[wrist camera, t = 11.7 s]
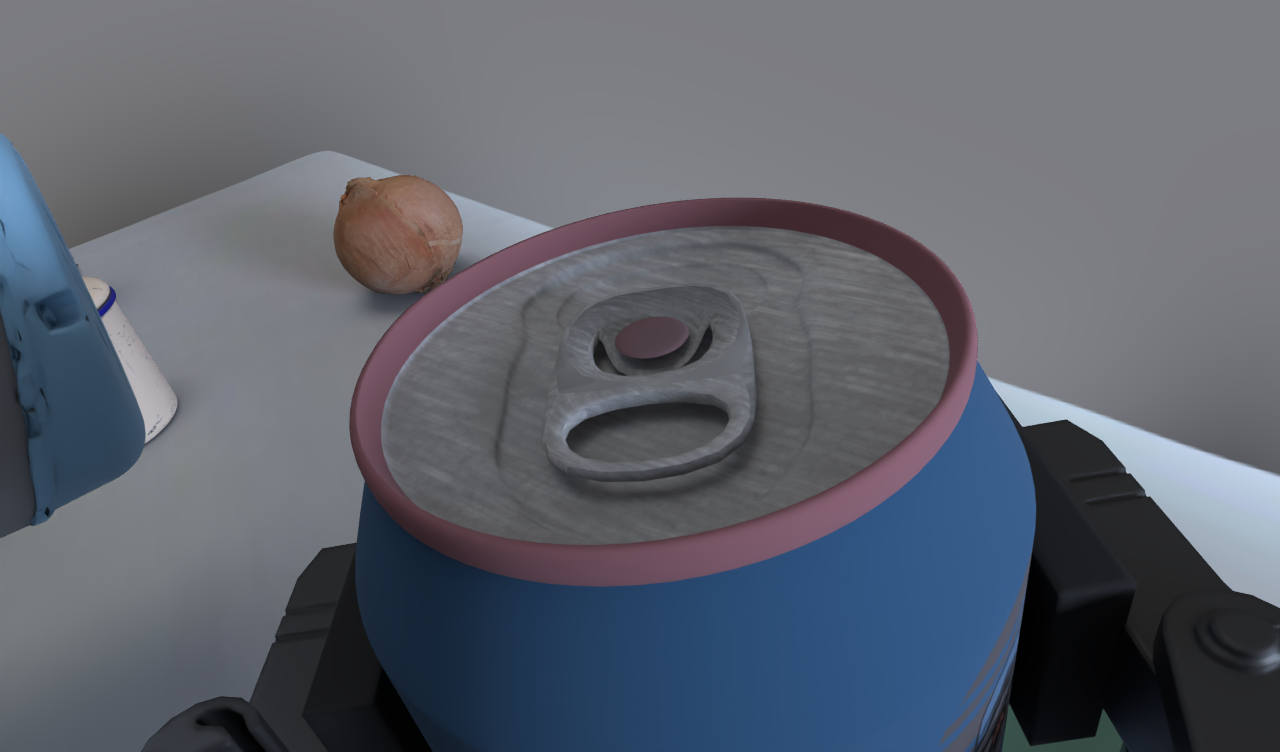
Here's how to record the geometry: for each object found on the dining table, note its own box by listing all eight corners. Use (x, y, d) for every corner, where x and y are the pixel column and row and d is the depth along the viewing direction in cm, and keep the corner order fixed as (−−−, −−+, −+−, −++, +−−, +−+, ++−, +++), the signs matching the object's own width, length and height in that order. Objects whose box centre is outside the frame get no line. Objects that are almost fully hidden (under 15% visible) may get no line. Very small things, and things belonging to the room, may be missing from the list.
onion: (387, 323, 64) (296, 224, 60) (473, 250, 67) (391, 151, 63) (406, 327, 55) (303, 212, 52) (505, 243, 58) (412, 128, 54)
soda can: (592, 717, 17) (409, 219, 11) (915, 701, 16) (937, 140, 10) (544, 1147, 12) (94, 667, 5) (1032, 1162, 11) (1275, 585, 4)
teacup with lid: (160, 376, 57) (65, 228, 50) (203, 418, 51) (102, 257, 44) (-28, 470, 51) (-163, 316, 44) (-3, 531, 45) (-155, 363, 38)
